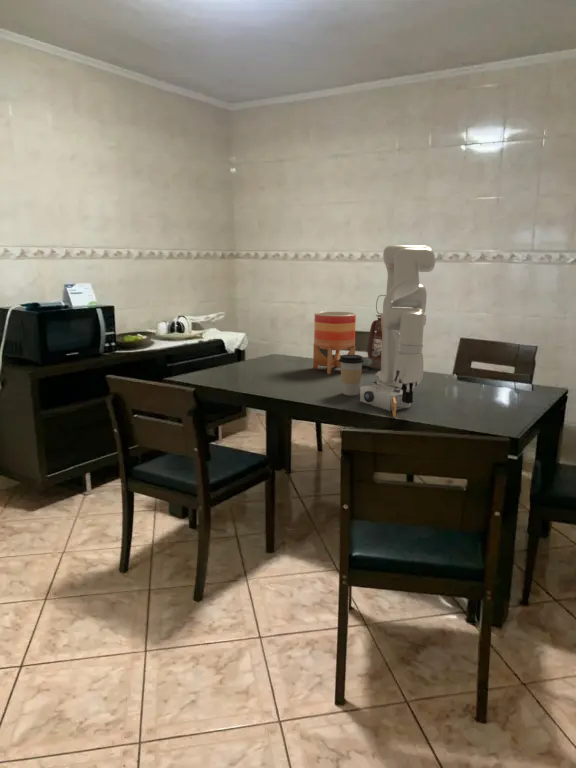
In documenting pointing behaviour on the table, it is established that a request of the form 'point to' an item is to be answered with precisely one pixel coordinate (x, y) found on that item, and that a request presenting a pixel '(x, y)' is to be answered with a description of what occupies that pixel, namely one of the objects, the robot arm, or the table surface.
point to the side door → (394, 406)
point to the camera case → (382, 396)
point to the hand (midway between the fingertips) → (407, 402)
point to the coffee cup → (351, 373)
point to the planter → (333, 337)
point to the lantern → (375, 327)
